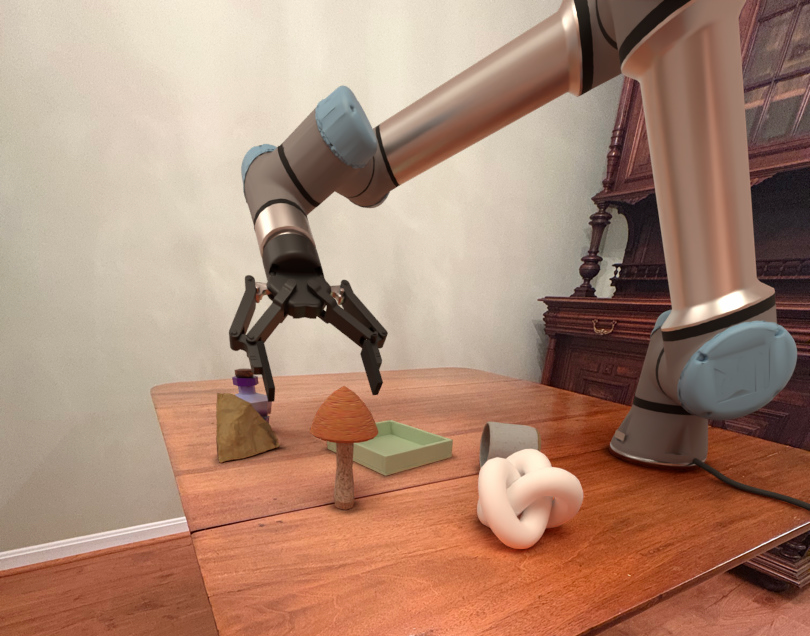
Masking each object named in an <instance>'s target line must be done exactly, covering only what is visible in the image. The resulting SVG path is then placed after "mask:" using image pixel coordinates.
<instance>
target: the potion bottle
mask: <svg viewBox="0 0 810 636" xmlns="http://www.w3.org/2000/svg"><path fill="white" fill-rule="evenodd" d="M231 378H232V385H233V386H236V387H237V389H238V393H235V394H234V395H236V396H237V397H239V398H241V399H243V400H245V401H247V402H249V403H251V404H252V406H253V408H254V409H255V410H256V411H257V412H258V413H259V414H260V416H261V417H262V418H263V419H264V420H265V421H267V422H268V423H269V424H270V415H271V414H272V408H273V407H272V404H273V402H268V399H267V395H266V394H264V393H259V392H256V391H257V390H256V386H257V385H259V375H254V374H253V372H252V370H251V368H236V369H234V376H232V377H231Z"/></svg>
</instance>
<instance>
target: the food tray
mask: <svg viewBox="0 0 810 636" xmlns="http://www.w3.org/2000/svg"><path fill="white" fill-rule="evenodd" d="M375 423H376V426H377V429H378V435H377V436H375V437H374V438H373V439H371V440H368V441H365V442H360V443H354V450H353V463H354V462H355V463H357V464H358V465H361V466H363V467H365V468H367V469H369V470H371V471H374V472H376V473H378V474H380V475H382V476H384V477H387V476H390V475H394V474H397V473H401V472H404V471H405V472H406V471H408V470H412V469H416V468H419V467H423V466H426V465H429V464H433V463H436V462H440V461H443V460H447V459H451V458H452V457H453V444H454V439H452V438H449V437H445V436H443V435H439V434H437V433H434V432H430V431H427V430H424V429H421V428H417V427H414V426H412V425H409V424H405V423H402V422H399V421H396V420H392V419H388V420H383V421H377V422H376V421H375ZM326 446H327V447H326V448H327V450H329V451H331V452H333V453H335V454H336V443H334V442H329V441H326Z"/></svg>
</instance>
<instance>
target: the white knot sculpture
mask: <svg viewBox="0 0 810 636" xmlns="http://www.w3.org/2000/svg"><path fill="white" fill-rule="evenodd" d="M549 459H550V458H548V456H547V455H546V454H545V453H543V452H541V451H540V452H539V451H538V450H535V449H524V450H521V451H518V452H516V453H514V454H512V455H510V456H509V457H507V458H506V459H504V458H499V457H496V458H493V459H490V460H488V461H487V462H486V463H485V464H484V465H483V466H482V467H481V468H480V470H479V473H478V479H477V493H478V500H477V503H476V504H477V505H476V515H477V518H478V520H479V522H480V523H481V524H482V525H484V526H486V527H487V528H490V530H491V531H492V533H493V534H494V535H495V536H496V538H498V540H499V541H500V542H501V543H503V544H504V545H505V546H506V547H509V548H510V549H514V550H515V549H516V550H525V549H529V548H531V547H533V546H534V545H535V544H536V543H538V541H539V540H540V539H541V538H542V536H543V535H544V533H545V530H546V529H554V528H557V527H561V526H562V525H564V524H566V523H568V522H569V521H571V520H572V519H574V518H575V516H576V515H577V514H578V513H579V511H580V509H581V507H582V504H583V502H584V490H583V486H582V484H581V481H580V480H579V479H578V477H577V476H576V475H574V474H573V473H571V472H570V471H568V470H566V469H564V468H561V467H555V466H552V462H551V461H550V460H549Z"/></svg>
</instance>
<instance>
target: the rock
mask: <svg viewBox="0 0 810 636" xmlns="http://www.w3.org/2000/svg"><path fill="white" fill-rule="evenodd" d="M215 407H216V408H215V409H216V411H215V418H216V423H215V424H216V434H215V440H216V442H215V443H216V453H217V460H218V462H219V463H221V464H222V463H224V462H227V461H233V460H234V461H235V460H241V459H245V458H249V457H253V456H256V455H258V454H261V453H265V452H267V451H270V450H274V449H277V448H279V447H281V444H280V442H279V438H278V437H277V436H276V434H275V431H274V429H273V428H272V426H271V424H270V422H269V423H268V422H267V421H265V420H264V419H263V418H262V417H261V416H260V414H259V413H258V412H257V411H256V410H255V409H254V408H253V406H252V404H251V403H249V402H247V401H245V400H243V399H241V398H239V397H237V396H236V395H235V394H233V393H231V392H230V393H229V392H223V393H222V392H221V393H220V392H217V393H216V404H215Z"/></svg>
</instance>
